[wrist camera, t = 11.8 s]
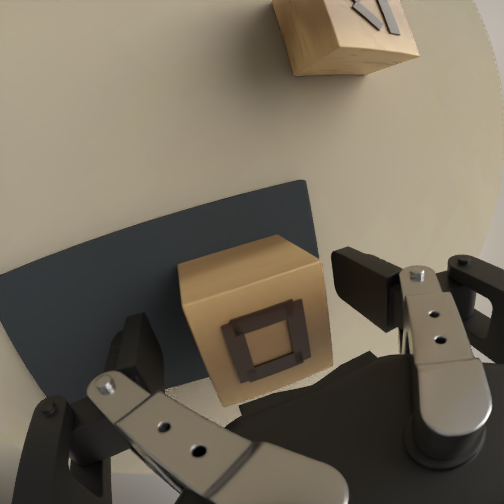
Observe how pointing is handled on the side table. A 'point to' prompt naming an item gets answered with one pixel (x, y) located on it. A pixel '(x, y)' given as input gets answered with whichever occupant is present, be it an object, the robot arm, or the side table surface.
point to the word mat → (135, 286)
